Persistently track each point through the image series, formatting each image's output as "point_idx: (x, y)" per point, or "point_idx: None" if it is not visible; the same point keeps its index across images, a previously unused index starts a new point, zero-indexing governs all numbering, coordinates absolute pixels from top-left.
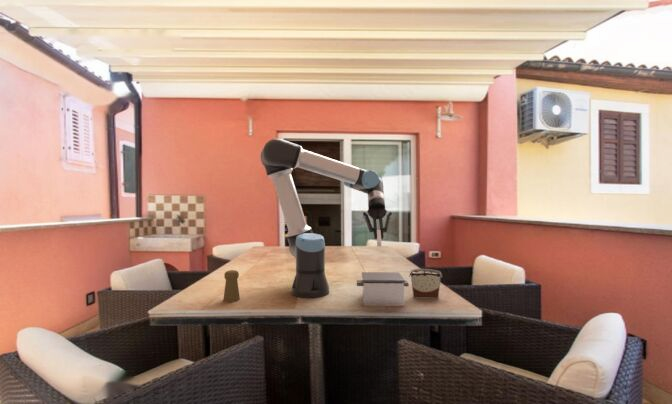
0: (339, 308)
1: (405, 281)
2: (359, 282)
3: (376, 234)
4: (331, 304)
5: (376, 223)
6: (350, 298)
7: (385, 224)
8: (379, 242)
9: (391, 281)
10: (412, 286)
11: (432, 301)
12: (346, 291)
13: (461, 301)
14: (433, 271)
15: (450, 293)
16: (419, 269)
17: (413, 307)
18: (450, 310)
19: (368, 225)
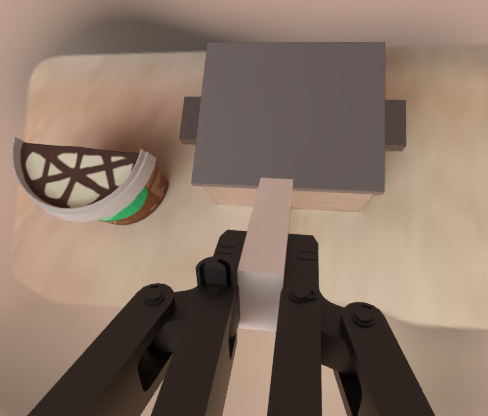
0: (448, 73)
1: (189, 121)
2: (393, 105)
3: (292, 252)
4: (482, 111)
5: (271, 381)
6: (410, 179)
7: (132, 344)
8: (277, 181)
9: (261, 46)
10: (158, 171)
11: (119, 142)
12: (430, 279)
13: (29, 142)
14: (28, 187)
15: (17, 232)
16: (80, 207)
17: (200, 86)
18: (103, 63)
19: (408, 384)
